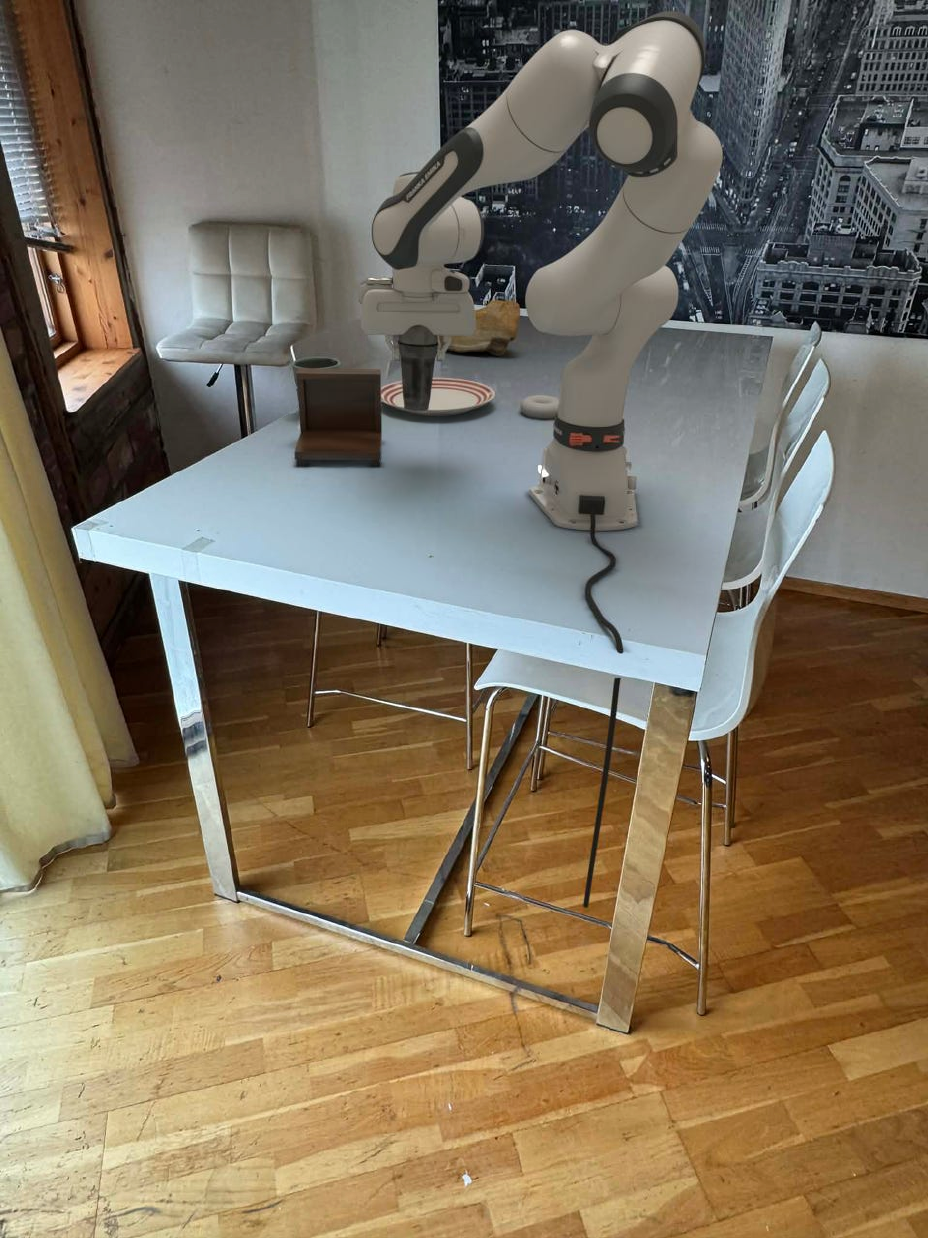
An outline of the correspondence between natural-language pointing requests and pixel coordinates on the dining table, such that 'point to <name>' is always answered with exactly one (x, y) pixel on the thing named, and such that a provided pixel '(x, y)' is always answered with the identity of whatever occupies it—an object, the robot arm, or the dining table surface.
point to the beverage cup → (417, 366)
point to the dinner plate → (443, 396)
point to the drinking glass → (314, 364)
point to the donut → (540, 406)
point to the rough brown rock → (490, 329)
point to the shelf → (339, 415)
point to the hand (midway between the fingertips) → (418, 360)
